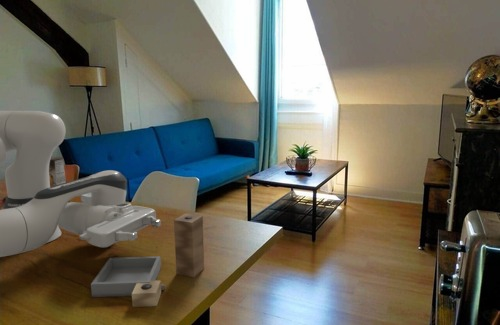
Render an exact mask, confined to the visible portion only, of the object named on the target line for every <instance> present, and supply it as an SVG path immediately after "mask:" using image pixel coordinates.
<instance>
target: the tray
mask: <svg viewBox="0 0 500 325" xmlns="http://www.w3.org/2000/svg"><path fill="white" fill-rule="evenodd" d="M161 260H162V259H161V256H159V255H158V256H130V257H128V256H127V257H125V256H124V257H109V258H108V260H107V261H106V263H105V264H104V265H103V267H102V268H101V269H100V271H99V272H98V274H97V275H96V276H95V278H94V279H93V280H92V282H91V283H90V290H91V297H92V298H104V297H106V298H107V297H111V298H113V297H132V292H133V290H134V288H135V286H136V284H137V283H150V281H158V276H159V274H160V271H161V269H162V261H161Z"/></svg>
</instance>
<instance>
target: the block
mask: <svg viewBox="0 0 500 325" xmlns="http://www.w3.org/2000/svg"><path fill="white" fill-rule="evenodd" d="M203 220H204V218H203V215H198V214H190V213H184V214H181V215H180V216H178V217H177V218H175V219H174V220H173V229H174V248H175V251H174V252H175V270H176V271H175V272H176V275H180V276H184V277H189V278H196V276H198V275H199V274H200V273H201V272H202V271H203V270H204V269H205V255H204V254H205V252H204V251H205V250H204V221H203Z"/></svg>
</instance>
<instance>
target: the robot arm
mask: <svg viewBox="0 0 500 325" xmlns="http://www.w3.org/2000/svg"><path fill="white" fill-rule="evenodd" d="M66 132H67V129H66V125H65V122H64V120H62V118H61V117H60V116H59V115H57V114H54V113H51V112H48V111H41V110H0V165H1V164H2V163H3V162H4V161H5V159H6V154H7V153H8V152H11V151H14V150H16V155H15V159H14V161H13V163H11V164H10V165H8V166H7V167H6V168H5V171H4V178H5V186H6V195H7V196H5V197H3V198H2V199H0V205H3V206H2V209H0V258H2V257H7V256H15V255H17V254H22V253H26V252H29V251H34V250H36V249H38V248H40V247H42V246H44V245H45V244H47V243H49V242H52V241H54V240H56V239H59V237H61V235H62V231H61V230H62V229H63V230H64V231H66V232H69V233H72V234H76V235H79V236H78V238H79V239H80V240H83V241H87V243H88V244H89V245H92V246H94V247H98V248H101V249H102V248H108V247H111V246H113V245H114V244H116V243H118V242H123V241H124V242H125V241H132V242H134V241H135V240H137V239H138V231H141V230H143V229H144V228H146V227H148V226H152V227H153V228H159V227H160V226H162V221H161V219H159V218H157V214H156V210H155V209H153V208H152V207H146V206H140V205H132V203H129V202H126V198H125V191H126V192H127V185H128V180H127V178H126V177H125V176H124V175H123V174H122V173H121V171H118V170H111V169H109V170H103V171H99V172H96V173H94V174H91V175H89V176H86V177H81V178H77V179H73V180H69V181H67V182H66V183H63V184H59V185H56V186H52V187H50V180H49V163H50V159H51V157H52V156H53V154H54V151H55V150H56V149H57V148H58V147H59V146H60V145H61V144H62V143H63V142H64V140H65V138H66V135H67V134H66ZM90 192H91V204H90V203H82V202H79V201H77V202H73V201H71V200H72V199H73V198H74V199H75V198H77V197H80V195H84V194H87V193H90ZM69 201H70V202H69ZM68 202H69V203H68ZM60 228H61V229H60Z"/></svg>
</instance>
